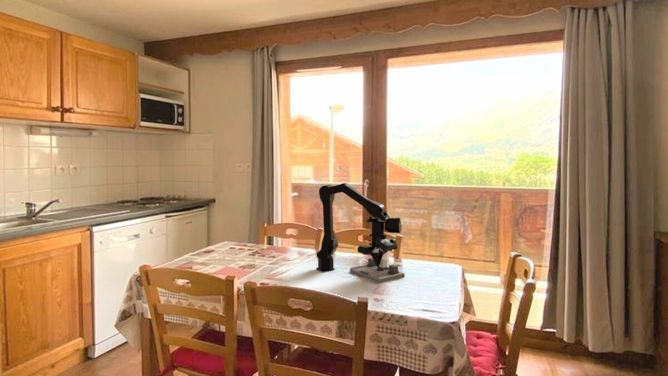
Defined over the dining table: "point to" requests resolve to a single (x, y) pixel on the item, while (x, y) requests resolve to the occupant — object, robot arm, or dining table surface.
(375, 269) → the breaker panel
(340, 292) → the dining table surface
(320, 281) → the dining table surface
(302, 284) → the dining table surface
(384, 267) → the breaker
